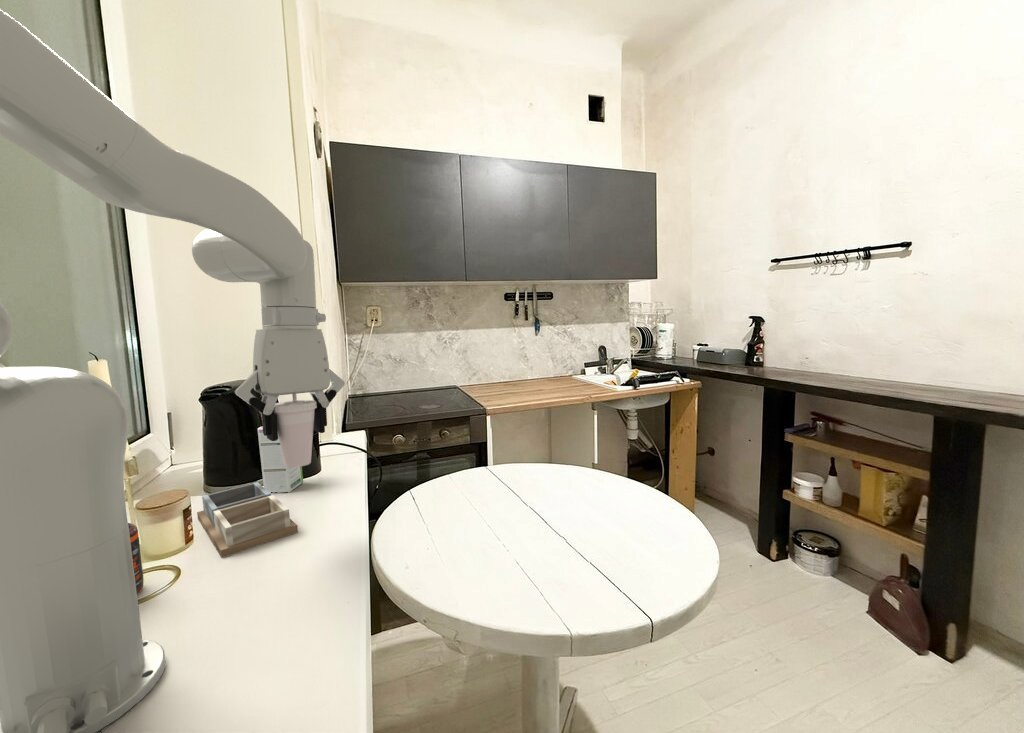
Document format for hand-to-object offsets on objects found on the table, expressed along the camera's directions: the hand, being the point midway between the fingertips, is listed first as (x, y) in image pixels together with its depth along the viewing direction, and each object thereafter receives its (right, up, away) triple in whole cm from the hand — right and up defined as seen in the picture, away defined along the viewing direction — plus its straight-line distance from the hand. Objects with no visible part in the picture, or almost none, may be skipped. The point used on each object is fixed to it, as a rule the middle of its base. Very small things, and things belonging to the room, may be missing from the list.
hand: (296, 434), depth 67 cm
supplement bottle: (-18, -20, -11) cm, 29 cm away
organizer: (-14, -18, +9) cm, 24 cm away
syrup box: (-16, -16, +27) cm, 35 cm away
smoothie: (0, -5, 0) cm, 5 cm away
